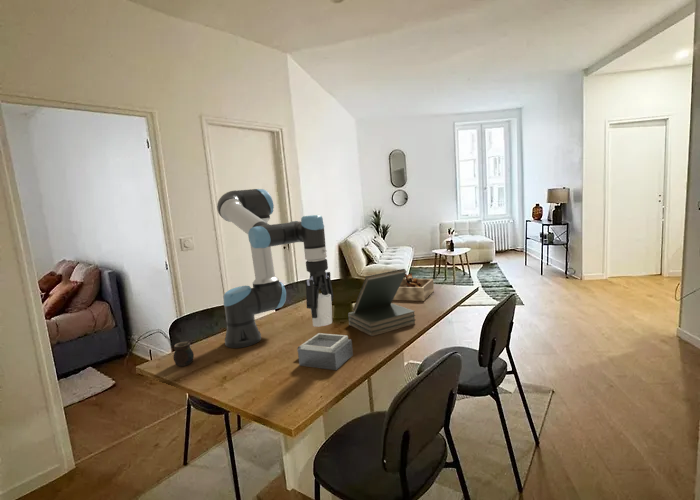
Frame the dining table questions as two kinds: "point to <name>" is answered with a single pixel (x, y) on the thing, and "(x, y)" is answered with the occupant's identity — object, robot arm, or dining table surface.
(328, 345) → the grey open box
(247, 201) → the robot arm
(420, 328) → the dining table surface
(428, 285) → the bear crate
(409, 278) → the bear figurine
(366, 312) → the book stack
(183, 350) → the mate gourd
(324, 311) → the white cup
